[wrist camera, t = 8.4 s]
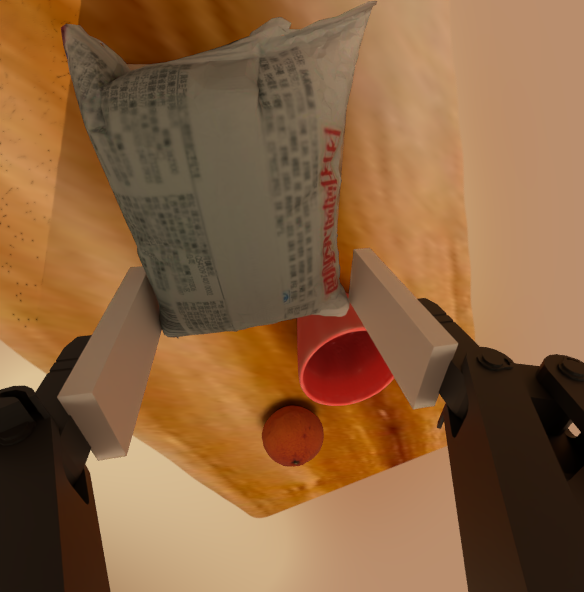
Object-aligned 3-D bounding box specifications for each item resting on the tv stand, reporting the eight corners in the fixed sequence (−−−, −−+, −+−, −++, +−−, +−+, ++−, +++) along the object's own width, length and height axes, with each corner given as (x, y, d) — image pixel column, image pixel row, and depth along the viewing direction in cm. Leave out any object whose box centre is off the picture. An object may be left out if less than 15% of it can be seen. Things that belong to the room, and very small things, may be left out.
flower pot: (266, 322, 38) (276, 384, 30) (330, 259, 34) (361, 309, 26) (323, 358, 43) (345, 418, 35) (383, 306, 40) (423, 360, 32)
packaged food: (349, 16, 10) (413, -13, 7) (337, 294, 18) (364, 358, 14) (85, 32, 10) (-18, 9, 6) (184, 312, 17) (166, 386, 13)
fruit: (249, 423, 48) (252, 476, 41) (283, 388, 45) (292, 439, 38) (293, 437, 52) (303, 486, 45) (327, 405, 49) (342, 454, 42)
